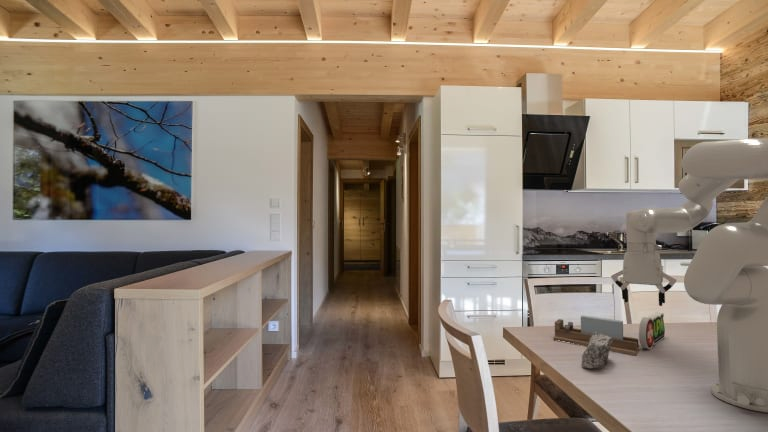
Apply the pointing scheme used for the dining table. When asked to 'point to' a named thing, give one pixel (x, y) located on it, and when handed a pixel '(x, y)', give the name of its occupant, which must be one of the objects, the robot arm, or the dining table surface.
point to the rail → (577, 337)
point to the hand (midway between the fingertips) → (643, 303)
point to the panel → (602, 326)
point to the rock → (596, 351)
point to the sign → (651, 330)
